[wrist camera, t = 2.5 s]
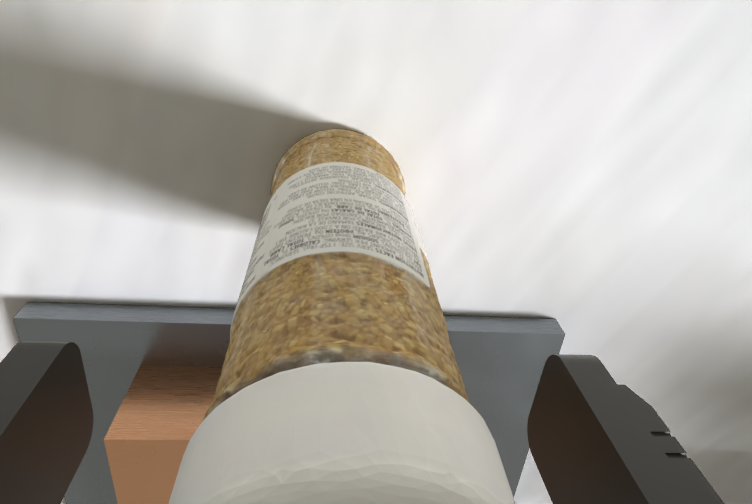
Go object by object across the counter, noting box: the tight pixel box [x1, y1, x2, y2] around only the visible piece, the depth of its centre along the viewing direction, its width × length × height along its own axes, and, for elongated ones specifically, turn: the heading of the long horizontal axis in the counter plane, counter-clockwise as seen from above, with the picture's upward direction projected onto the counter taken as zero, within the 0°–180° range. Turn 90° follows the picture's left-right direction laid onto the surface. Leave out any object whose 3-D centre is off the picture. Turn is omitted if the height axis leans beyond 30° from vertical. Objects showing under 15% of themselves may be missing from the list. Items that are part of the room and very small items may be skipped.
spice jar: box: [169, 129, 515, 504], centre depth 12 cm, size 5×4×14 cm
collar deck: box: [13, 302, 565, 504], centre depth 22 cm, size 20×16×4 cm
